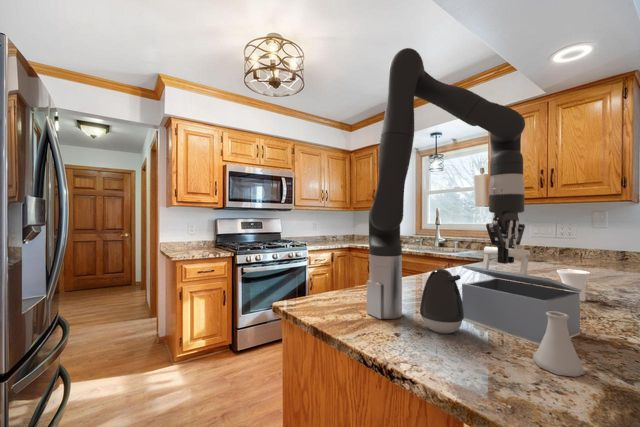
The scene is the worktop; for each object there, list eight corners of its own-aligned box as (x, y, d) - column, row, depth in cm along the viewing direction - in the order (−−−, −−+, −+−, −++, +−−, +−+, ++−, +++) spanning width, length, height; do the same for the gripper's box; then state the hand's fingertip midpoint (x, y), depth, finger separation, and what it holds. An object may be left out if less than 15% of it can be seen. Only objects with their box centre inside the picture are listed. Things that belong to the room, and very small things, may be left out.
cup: (587, 298, 103) (586, 269, 104) (594, 304, 96) (593, 273, 96) (555, 294, 108) (554, 267, 108) (559, 300, 100) (558, 270, 101)
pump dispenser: (445, 341, 66) (444, 273, 67) (411, 326, 76) (410, 267, 76) (474, 333, 71) (473, 270, 71) (438, 320, 80) (438, 264, 80)
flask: (524, 359, 58) (523, 308, 58) (558, 357, 59) (557, 307, 59) (556, 379, 51) (556, 320, 51) (595, 377, 51) (594, 319, 52)
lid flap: (548, 281, 63) (552, 251, 64) (462, 267, 81) (465, 244, 82) (580, 292, 71) (583, 265, 72) (495, 277, 89) (498, 256, 90)
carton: (547, 347, 63) (546, 301, 63) (462, 320, 80) (462, 284, 81) (580, 333, 71) (579, 293, 71) (496, 311, 88) (495, 278, 88)
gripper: (506, 190, 67) (506, 266, 67) (537, 194, 74) (536, 263, 74) (475, 193, 74) (474, 262, 73) (506, 196, 81) (505, 259, 80)
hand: (505, 262), depth 73 cm, fingers closed on lid flap, 2 cm apart
